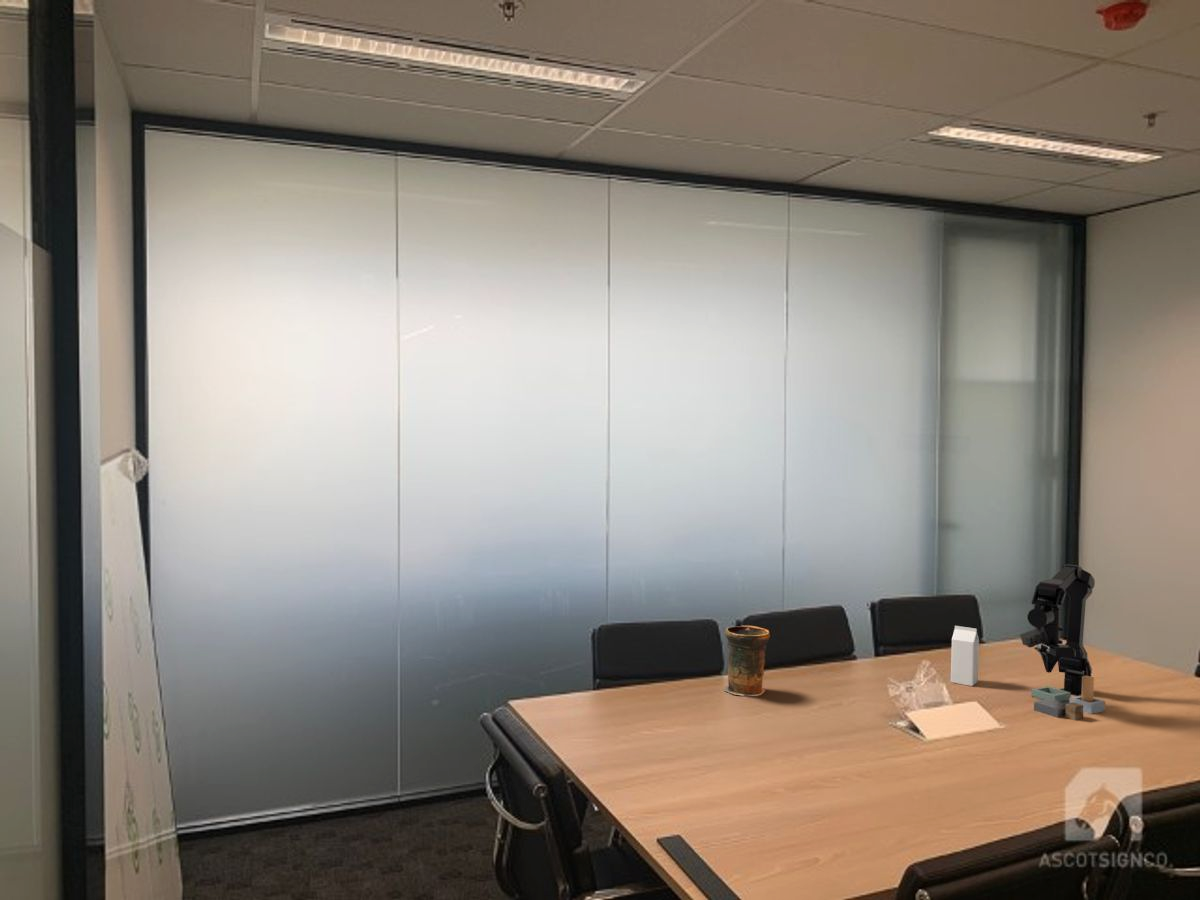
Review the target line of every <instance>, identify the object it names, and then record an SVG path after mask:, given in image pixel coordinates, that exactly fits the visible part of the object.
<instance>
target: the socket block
mask: <svg viewBox="0 0 1200 900" xmlns="http://www.w3.org/2000/svg"><path fill="white" fill-rule="evenodd" d="M1081 696H1082V695H1075V696H1070V701H1068V702H1069V703H1073V702H1075V703H1078V704H1082V705H1083V713H1087V714H1091V715H1092V714H1097V713H1102V712H1105V711H1106V701H1105V700H1102V699H1099V698H1095V697H1093V702H1091V703H1090V702H1086V701H1083V700H1081Z"/></svg>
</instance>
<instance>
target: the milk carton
mask: <svg viewBox="0 0 1200 900" xmlns="http://www.w3.org/2000/svg"><path fill="white" fill-rule="evenodd" d="M977 631H978V629H977V628H973V627H966V626H960V625H954V629H953V634H952V637H951V655H950V657H951V659H950V660H951V661H950V683H953V684H959V685H964V686H969V687H970V686H971V687H973V686H974V685H976V684H977V683H978V681H979V655H980V654H979V652H980V651H979V648H980V637H979V635H978V632H977Z"/></svg>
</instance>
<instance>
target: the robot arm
mask: <svg viewBox="0 0 1200 900" xmlns="http://www.w3.org/2000/svg"><path fill="white" fill-rule="evenodd" d="M1095 580H1096V579H1095V578H1094V576H1093V575H1092V574H1091V573H1090V572H1088V571H1087V570H1084V569H1082V567H1081V566H1079V565H1075V564H1067V563H1066V564H1062V566H1061V568H1060V570H1059V571H1058V572H1057V573H1056V574H1055V575H1054V576H1053V577H1051V578H1050V579H1043V580H1041V581H1040V582H1039V583H1038V584H1037V585H1036V586H1035V589H1034V592H1033V597H1032V599H1031V604H1032V605H1033V606H1034V608H1033V609H1030V610H1029V611H1028V613H1027V617H1026V618H1027V621H1028V623H1029V624H1030V626H1032V627H1035V628H1034V629H1033V630H1029V631H1026V632H1023V633H1021V634H1020V635H1019V636H1020V639H1021V643H1022V646H1026V647H1027V648H1034V650H1036V652H1038V653H1039V654H1040V656H1041V660H1042V661H1043V666H1044V669H1045V672H1046V673H1050V674H1051V673H1052V671H1053V670H1054V668H1055V666H1056V665H1058V673H1063V674H1064V679H1063V688H1060V689H1059V690H1063V691H1067V692H1070V693H1071V694H1070V695H1075V696H1081V695H1082V676H1091V677H1092V670H1093V668H1092V666H1091V664H1090V661H1089V659H1088V652H1087V650H1086V649H1085V646H1084V644H1083V641H1084V631H1085V630H1084V627H1085V614H1086V606H1087V605H1086V603H1087V602H1086V601H1087V600H1088V599H1089V597H1090V596H1091V595H1092V594H1093V589H1094V588H1095V584H1096V583H1095ZM1066 595H1067V596H1068V597H1069V606H1068V618H1067V631H1066V641H1065V642H1066V643H1065V644H1063V640H1062V639H1060V638H1061V637H1060V633H1061V632H1063V630H1064V628H1063V627H1062V626H1061V608H1062V605H1063V603H1064V600H1065V598H1066ZM1035 646H1036V647H1035Z"/></svg>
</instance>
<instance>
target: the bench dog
mask: <svg viewBox="0 0 1200 900" xmlns="http://www.w3.org/2000/svg"><path fill="white" fill-rule="evenodd" d="M1065 718H1067V719H1069V720H1073V721H1078V720H1081V719H1084V712H1083V705H1082V704H1078V703H1075V702H1073V703H1067V704H1066V710H1065Z"/></svg>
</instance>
